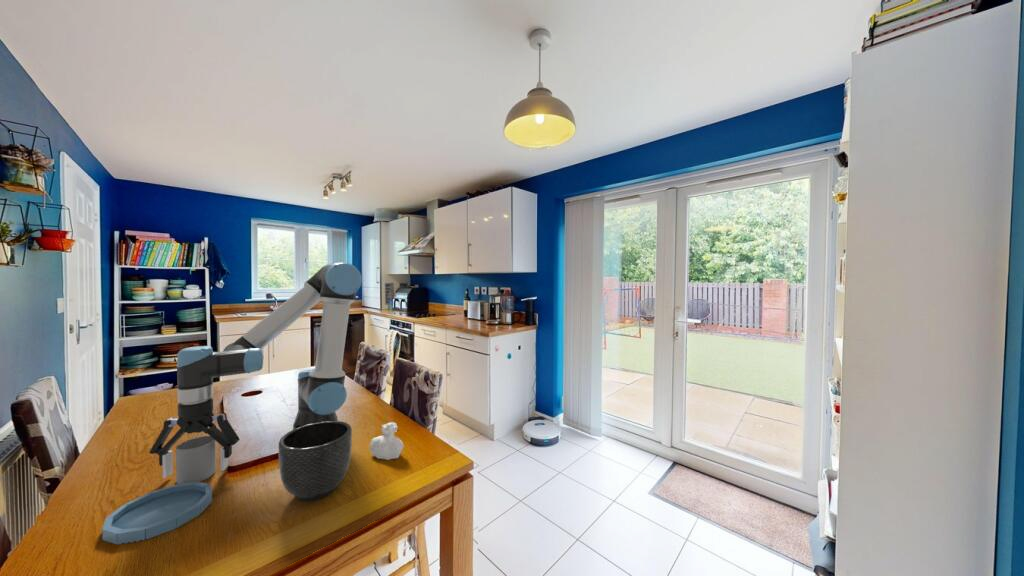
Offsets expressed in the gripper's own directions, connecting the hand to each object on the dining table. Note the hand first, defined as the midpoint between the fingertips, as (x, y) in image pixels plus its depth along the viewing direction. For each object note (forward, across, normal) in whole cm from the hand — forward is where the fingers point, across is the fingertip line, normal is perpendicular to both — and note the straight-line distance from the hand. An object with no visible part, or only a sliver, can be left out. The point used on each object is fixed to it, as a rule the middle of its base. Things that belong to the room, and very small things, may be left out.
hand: (196, 471), depth 97 cm
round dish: (+1, -2, +17) cm, 17 cm away
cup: (+2, 0, 0) cm, 2 cm away
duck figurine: (+2, -53, +2) cm, 53 cm away
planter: (+1, -36, +17) cm, 40 cm away
